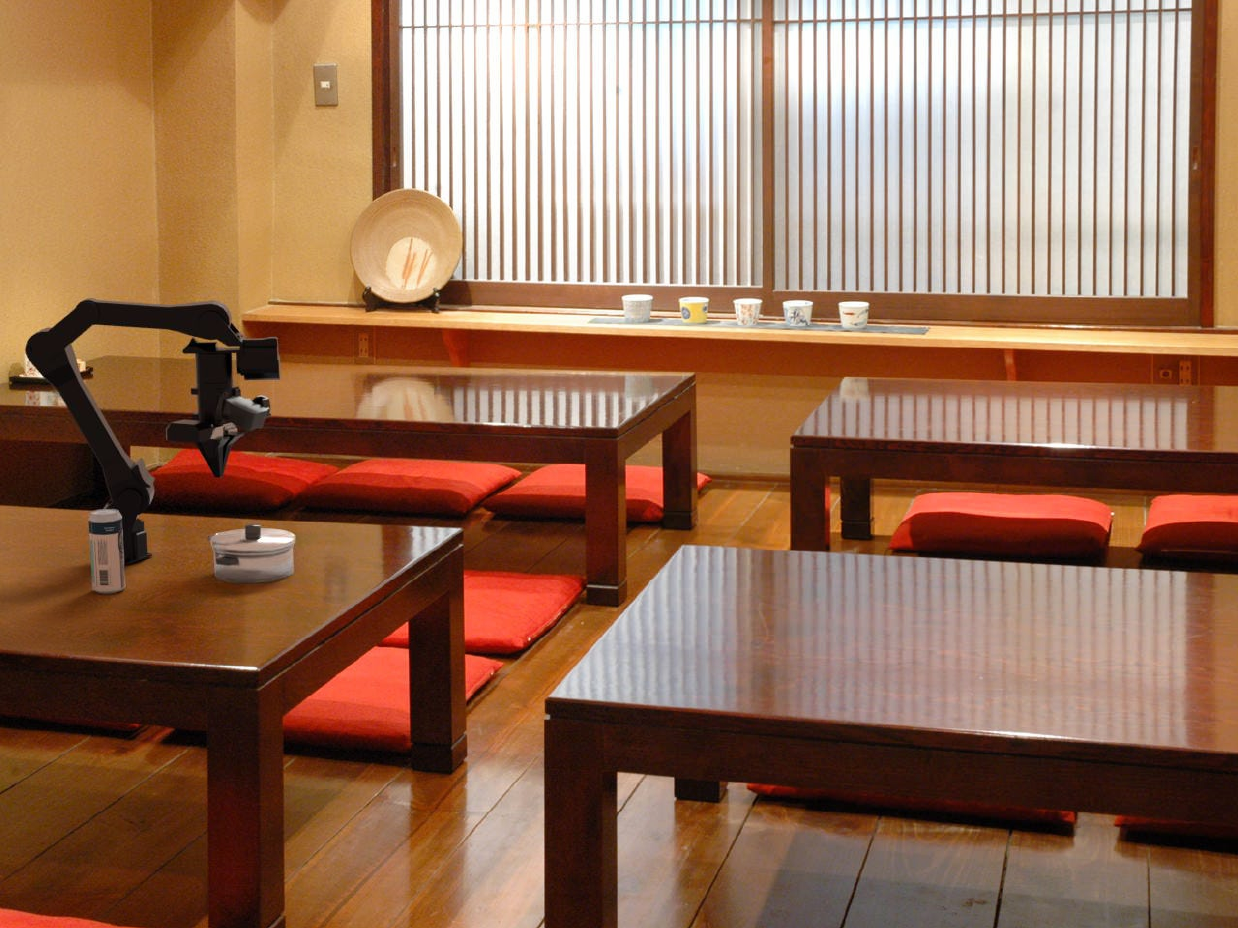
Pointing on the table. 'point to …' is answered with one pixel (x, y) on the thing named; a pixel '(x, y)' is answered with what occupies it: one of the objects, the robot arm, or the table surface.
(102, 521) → the beer can
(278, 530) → the cooker lid
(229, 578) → the cooker pot
